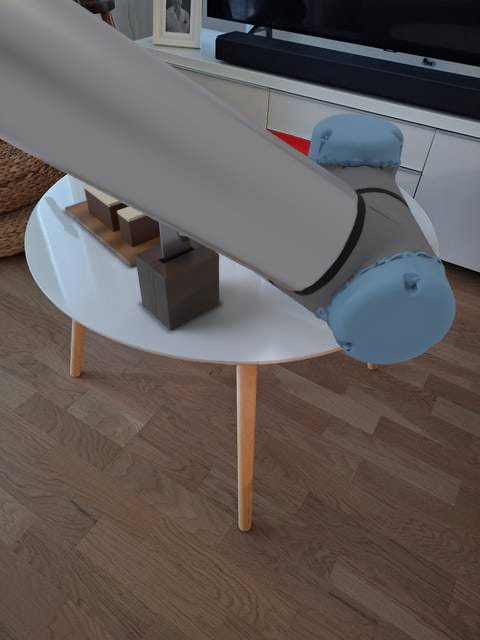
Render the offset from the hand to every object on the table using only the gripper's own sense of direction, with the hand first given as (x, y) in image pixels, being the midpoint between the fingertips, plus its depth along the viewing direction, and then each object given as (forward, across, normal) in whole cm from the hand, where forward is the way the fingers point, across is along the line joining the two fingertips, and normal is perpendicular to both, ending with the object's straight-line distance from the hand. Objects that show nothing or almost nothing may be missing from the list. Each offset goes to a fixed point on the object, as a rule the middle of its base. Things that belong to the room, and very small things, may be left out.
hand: (149, 168), depth 65 cm
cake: (+25, +8, -21) cm, 33 cm away
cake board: (+22, +8, -22) cm, 32 cm away
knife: (-5, 0, -15) cm, 16 cm away
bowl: (+15, +35, -22) cm, 44 cm away
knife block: (-6, 0, -22) cm, 22 cm away
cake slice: (+15, +8, -21) cm, 27 cm away
